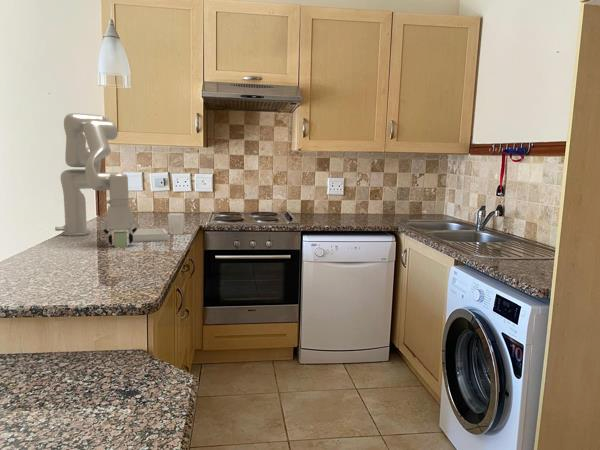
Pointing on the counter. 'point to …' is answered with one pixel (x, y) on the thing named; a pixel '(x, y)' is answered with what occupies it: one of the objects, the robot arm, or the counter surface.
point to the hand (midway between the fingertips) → (120, 243)
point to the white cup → (176, 223)
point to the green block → (120, 239)
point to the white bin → (150, 235)
